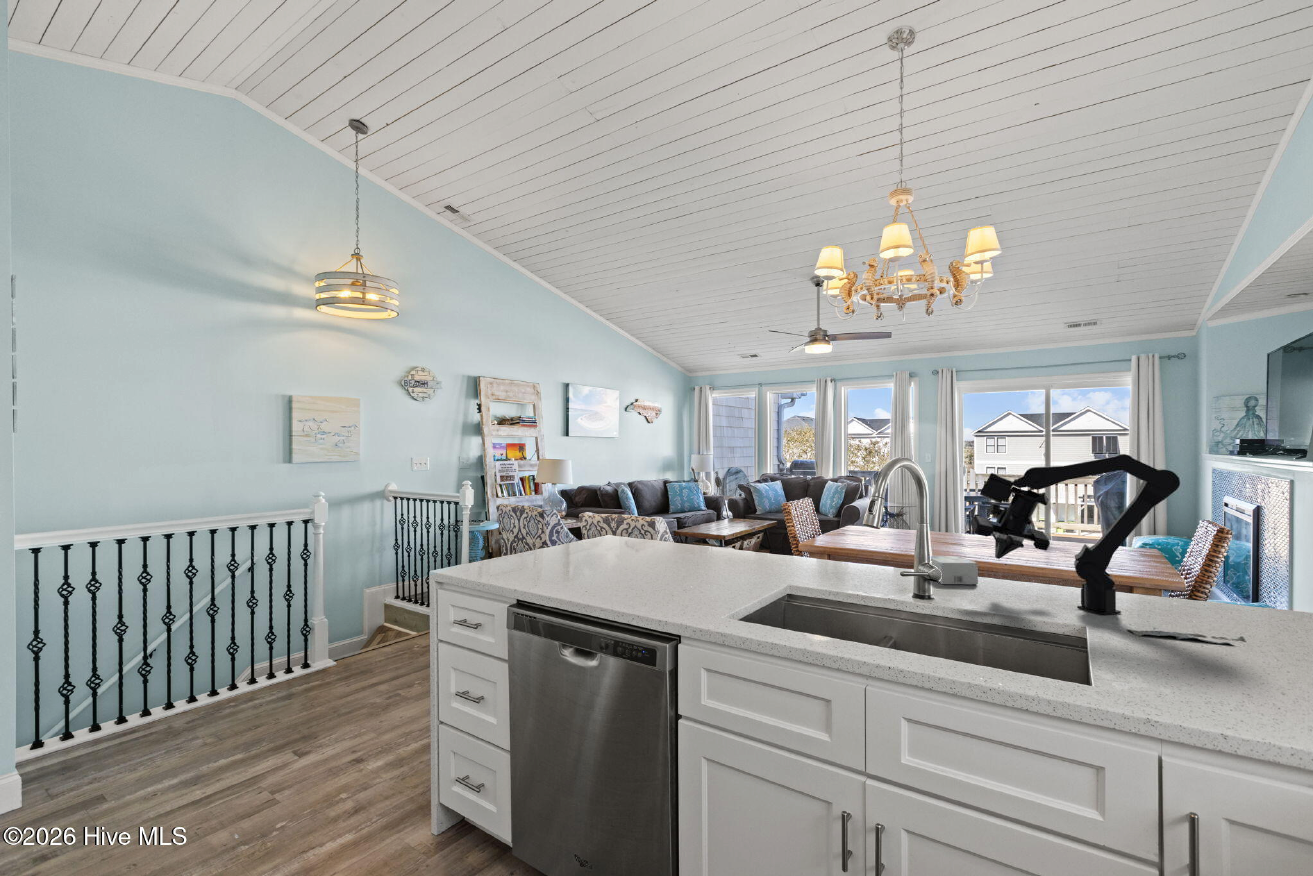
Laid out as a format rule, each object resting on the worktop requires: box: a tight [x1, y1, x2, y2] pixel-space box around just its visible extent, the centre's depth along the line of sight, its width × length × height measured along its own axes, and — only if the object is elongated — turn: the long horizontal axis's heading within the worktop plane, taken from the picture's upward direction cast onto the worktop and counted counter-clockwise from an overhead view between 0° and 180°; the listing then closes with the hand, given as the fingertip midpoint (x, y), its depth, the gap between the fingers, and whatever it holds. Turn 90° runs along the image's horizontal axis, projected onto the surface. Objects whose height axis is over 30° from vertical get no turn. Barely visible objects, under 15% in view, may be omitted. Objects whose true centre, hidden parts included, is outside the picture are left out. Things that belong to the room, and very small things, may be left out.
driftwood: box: [1126, 627, 1247, 647], centre depth 128 cm, size 21×7×2 cm, turn 66°
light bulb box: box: [931, 555, 979, 585], centre depth 181 cm, size 11×7×11 cm
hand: (996, 557), depth 165 cm, fingers closed
